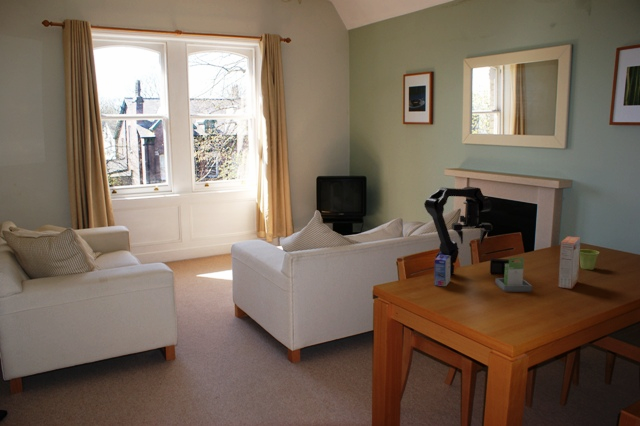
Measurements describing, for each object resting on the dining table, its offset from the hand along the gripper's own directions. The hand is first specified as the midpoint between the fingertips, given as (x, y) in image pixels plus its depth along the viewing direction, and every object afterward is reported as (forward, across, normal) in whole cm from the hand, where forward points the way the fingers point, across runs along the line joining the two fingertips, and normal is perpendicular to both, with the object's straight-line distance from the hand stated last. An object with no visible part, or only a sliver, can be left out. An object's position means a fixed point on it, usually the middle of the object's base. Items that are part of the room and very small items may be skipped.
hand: (471, 243), depth 269 cm
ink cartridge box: (+13, +19, +23) cm, 33 cm away
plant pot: (+13, -59, -1) cm, 60 cm away
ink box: (+13, -11, +30) cm, 34 cm away
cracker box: (+13, -37, +26) cm, 47 cm away
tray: (+13, -11, +30) cm, 34 cm away
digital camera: (+13, -13, +8) cm, 20 cm away
